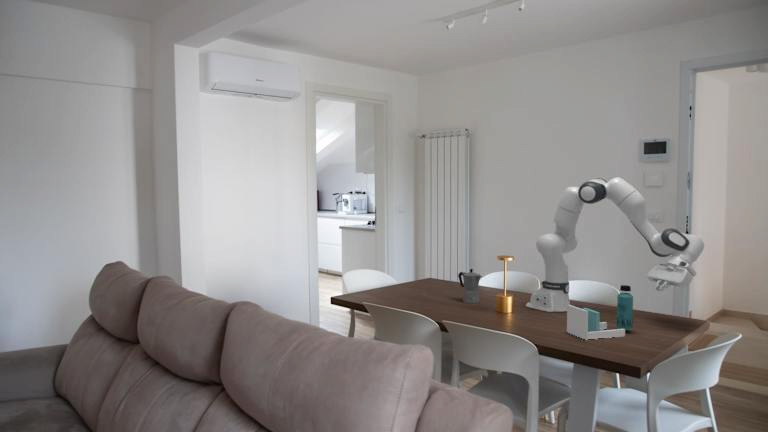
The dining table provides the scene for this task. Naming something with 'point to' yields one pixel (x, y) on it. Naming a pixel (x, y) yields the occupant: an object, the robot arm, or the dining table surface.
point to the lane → (579, 325)
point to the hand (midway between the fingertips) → (658, 290)
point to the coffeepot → (470, 286)
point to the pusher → (593, 320)
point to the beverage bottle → (624, 309)
